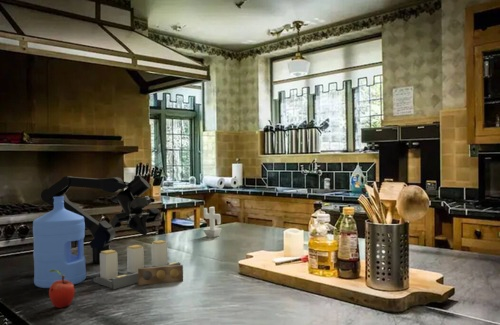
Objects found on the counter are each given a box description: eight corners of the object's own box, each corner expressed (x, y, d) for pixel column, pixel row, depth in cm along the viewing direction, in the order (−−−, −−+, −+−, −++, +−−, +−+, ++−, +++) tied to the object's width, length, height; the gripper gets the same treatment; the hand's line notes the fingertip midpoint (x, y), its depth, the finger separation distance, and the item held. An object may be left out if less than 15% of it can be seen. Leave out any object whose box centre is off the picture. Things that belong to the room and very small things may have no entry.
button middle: (127, 271, 145) (126, 246, 145) (137, 269, 148) (136, 244, 148) (134, 273, 142) (133, 247, 142) (144, 270, 145) (143, 245, 145)
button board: (93, 281, 138) (93, 271, 138) (159, 265, 158) (158, 257, 158) (114, 289, 130) (113, 278, 130) (180, 271, 150) (180, 261, 150)
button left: (100, 277, 137) (99, 251, 137) (111, 275, 140) (110, 249, 140) (106, 280, 135) (106, 253, 135) (117, 277, 138) (117, 250, 138)
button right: (151, 265, 152) (151, 241, 152) (160, 263, 155) (160, 239, 155) (158, 267, 150) (157, 242, 150) (167, 264, 153) (167, 241, 153)
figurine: (217, 237, 212) (216, 208, 212) (201, 236, 216) (200, 207, 216) (224, 235, 219) (223, 206, 219) (208, 234, 223) (207, 205, 223)
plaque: (138, 285, 134) (138, 269, 134) (138, 283, 135) (138, 268, 135) (183, 281, 137) (182, 265, 137) (182, 280, 138) (182, 264, 138)
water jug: (29, 291, 130) (26, 200, 130) (39, 277, 145) (37, 196, 145) (83, 286, 134) (81, 197, 134) (88, 273, 149) (86, 194, 149)
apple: (80, 301, 119) (79, 266, 119) (70, 310, 112) (69, 272, 112) (52, 302, 119) (51, 267, 118) (41, 311, 112) (40, 273, 112)
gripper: (114, 191, 155) (132, 224, 147) (156, 188, 169) (174, 217, 161) (103, 211, 160) (120, 244, 153) (145, 206, 174) (162, 236, 167)
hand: (145, 234), depth 158 cm, fingers closed
